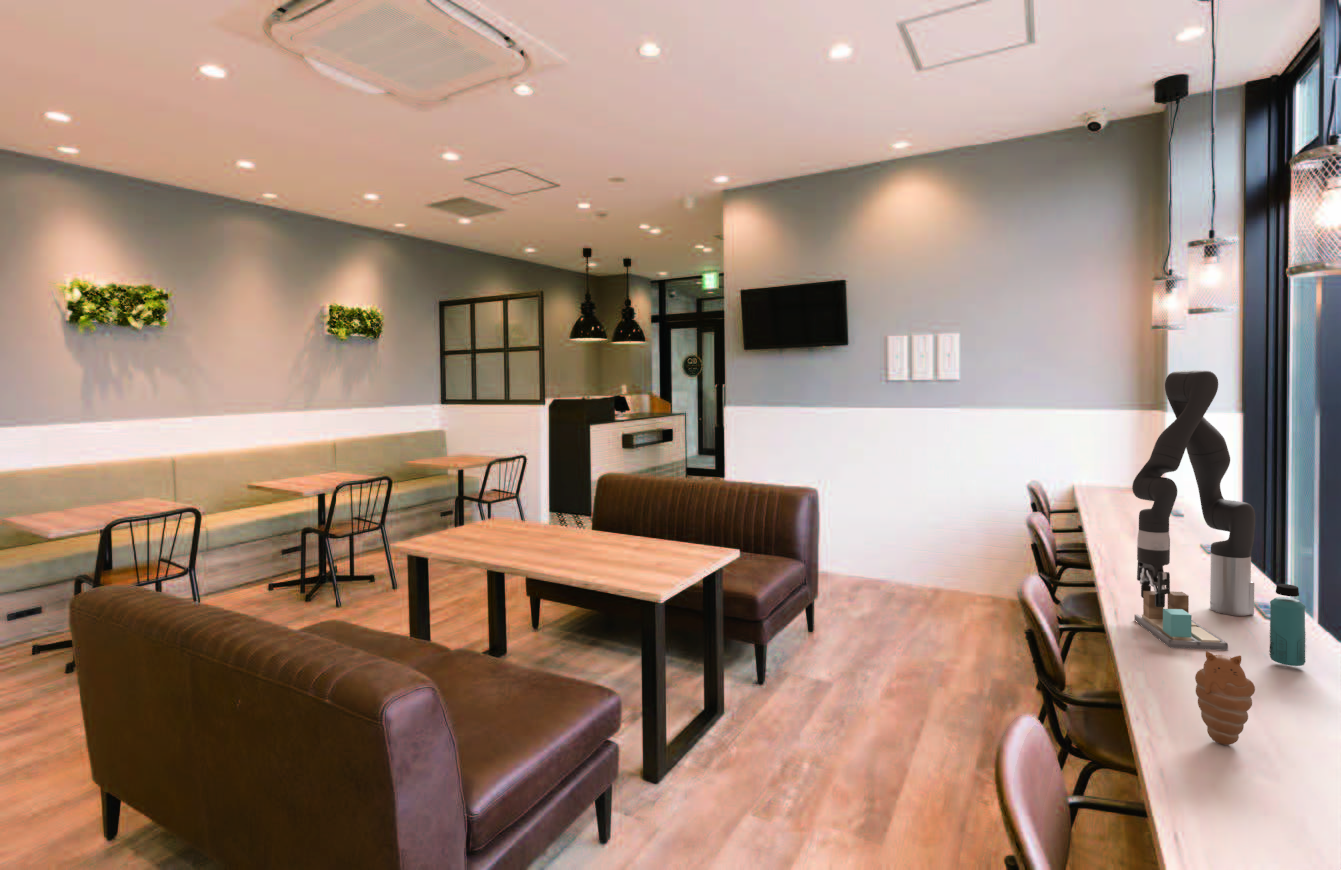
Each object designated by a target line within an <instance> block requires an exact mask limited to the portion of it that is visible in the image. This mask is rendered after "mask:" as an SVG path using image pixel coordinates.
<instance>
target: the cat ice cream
mask: <svg viewBox="0 0 1341 870" xmlns="http://www.w3.org/2000/svg"><path fill="white" fill-rule="evenodd" d="M1205 657H1206V660H1205V661H1204V663H1203V666H1202V667H1203V668H1201V669H1199V670H1197V672H1196V673H1195V675H1194V680H1195V682H1196V686H1195V694H1196V697H1197V705H1198V707H1199V709H1200V716H1201V719H1202V721H1203V723H1204V724H1205V726H1207V727H1206V731H1207V734H1208V736H1209V738H1211V740H1213V741H1214V742H1215V743H1217V744H1220V745H1223V746H1226V745H1228V746H1230V745H1233V744H1236V743H1237V742H1238V740H1239V738H1240V737H1239V736H1240V734H1241V733H1242V732H1243V730H1244V724H1247V722H1248V720H1249V713H1248V711H1250V709H1251V708H1252V707H1253V700H1252V696H1253V695H1254V694H1255V691H1256V686H1255V684H1254V682H1252V681H1251V680H1250V679H1249V678H1248V677H1246V673H1245V671H1244V670H1243V668H1242V666H1241V663H1242V655H1235V656H1233V657H1230V656H1228V655H1223V654H1213V653H1211V652H1210V651H1207V650H1206V651H1205Z"/></svg>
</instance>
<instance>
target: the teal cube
mask: <svg viewBox="0 0 1341 870" xmlns="http://www.w3.org/2000/svg"><path fill="white" fill-rule="evenodd" d="M1191 620H1192V614H1191V613H1187V612H1186V611H1184V610H1183V609H1168V608H1164V609H1163V631H1164V632H1166V633H1167V634H1168V635H1170V636H1171V637H1191Z"/></svg>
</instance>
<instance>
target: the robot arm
mask: <svg viewBox="0 0 1341 870" xmlns="http://www.w3.org/2000/svg"><path fill="white" fill-rule="evenodd" d="M1218 388H1219V379H1218V377H1217V375H1216V374H1215V373H1214V372H1213V371H1211V370H1206V369H1198V370H1196V369H1194V370H1176V371H1172V372H1171V373H1169V374H1167V377H1166V378H1165V381H1164V390H1165V395H1166V397H1167V400H1168V403H1169V405H1170V407H1171V409H1172V412H1173V414H1174V417H1175V418H1176V419H1175V420H1173V422H1172V423H1171V424H1169V426H1168V427H1166V428H1165V429H1164V430H1163V431H1162V432H1161V433H1160V435H1158V437H1157V438H1156V441H1155V443H1154V446H1153V449H1152V452H1151V454H1150V457H1149V459H1148V460H1147V462H1146V463H1145V464H1144V465H1143V467H1142V468H1141V469H1140V471H1139V472H1138V473H1137V474H1136V475H1135V478H1134V480H1133V481H1132V493H1133V494H1134V496H1135V497H1136V498H1138V499H1140V500H1144V501H1149V502H1153V504H1152V506H1151V508H1144V509H1141V510H1140V511H1139V512H1138V513H1139V514H1138V532H1137V542H1136V543H1137V545H1136V547H1137V549H1136V560H1137V566H1136V567H1137V568H1136V569H1137V570H1136V572H1137V573H1136V580H1137V581H1138V582H1139V584H1140V596H1141V598H1142V599H1143V591H1152V587H1153V591H1155V606H1156V607H1164V608H1165V607H1166V595H1168V594H1170V592H1171V576H1170V572H1169V571H1168V572H1167V571H1164V566H1167V565H1169V564H1171V562H1170V560H1171V555H1170V553H1171V537H1170V517H1171V514H1172V512H1173V508H1174V505H1175V503H1176V500H1177V497H1178V487H1177V483H1175V481H1174V480H1173V479H1171V478H1169V477H1163V475H1164V474H1167V473H1172V472H1173V473H1174V472H1176V471H1177V470H1178V469H1179V467H1180V465H1181V462H1182V460H1183V457H1184V454H1185V451H1187V455H1188V459H1189V462H1190V464H1191V467H1192V470H1193V473H1194V477H1195V481H1196V484H1197V485H1196V486H1197V488H1198V495H1199V499H1200V500H1199V501H1200V505H1201V511H1202V516H1203V520H1204V521H1205V524H1206V525H1207V526H1208V527H1210V528H1211V529H1214V530H1217V531H1224V532H1229V534H1228V535H1229V536H1228V539H1227V540H1219V541H1215V542H1214V541H1213V542H1212V543H1211V545H1210V576H1209V577H1210V579H1209V580H1210V583H1209V584H1210V588H1209V589H1210V592H1209V593H1210V596H1209V597H1210V599H1209V608H1210V610H1211V611H1213V612H1215V613H1219V614H1222V615H1228V616H1238V617H1239V616H1240V617H1241V616H1242V617H1243V616H1249V615H1250V616H1251V615H1255V582H1253V581H1252V579H1251V578H1252V566H1251V565H1252V551H1253V546H1254V542H1255V532H1256V531H1255V529H1256V512H1255V508H1254V507H1253V506H1252V504H1250V503H1248V502H1244V501H1238V500H1237V501H1236V500H1231V499H1230V500H1229V499H1225V498H1224V497H1223V494H1222V490H1221V482H1222V479H1223V477H1224V476H1225V475H1226V473H1227V471H1228V468H1229V467H1230V464H1231V455H1230V452H1229V448H1228V444H1227V442H1226V439H1225V438H1224V436H1223V435H1222V434H1221V432H1220V431H1219V430H1218V429H1217V428H1216V427H1215V426H1214V425H1213V424H1211V423H1210V421H1208V420H1207V419H1206V418H1205V417H1204V416H1205V414H1206V413H1207V411H1208V410H1209V408H1210V406H1211V405H1212V403H1213V400H1214V399H1215V397H1216V395H1217V392H1218V391H1219V389H1218Z"/></svg>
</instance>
